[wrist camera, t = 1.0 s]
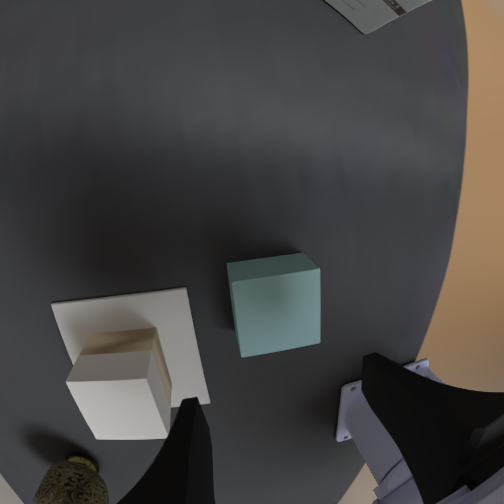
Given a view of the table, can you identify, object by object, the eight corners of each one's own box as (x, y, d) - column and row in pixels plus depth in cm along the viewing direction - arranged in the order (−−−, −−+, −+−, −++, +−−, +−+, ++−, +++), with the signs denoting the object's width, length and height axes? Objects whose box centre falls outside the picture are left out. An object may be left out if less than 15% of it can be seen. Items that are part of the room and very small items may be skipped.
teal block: (301, 251, 21) (320, 268, 18) (303, 318, 22) (320, 342, 19) (226, 262, 20) (231, 281, 17) (234, 329, 22) (241, 357, 18)
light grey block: (151, 349, 18) (146, 378, 15) (170, 408, 19) (169, 438, 16) (78, 355, 17) (65, 381, 14) (104, 411, 18) (96, 439, 16)
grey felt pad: (186, 287, 20) (186, 288, 20) (210, 400, 23) (210, 403, 23) (52, 302, 19) (50, 304, 18) (95, 408, 22) (94, 410, 21)
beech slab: (156, 327, 20) (151, 349, 18) (172, 383, 22) (170, 408, 19) (90, 333, 20) (78, 355, 17) (111, 387, 21) (104, 411, 18)
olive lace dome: (38, 440, 22) (17, 497, 14) (87, 433, 22) (69, 500, 15) (80, 480, 24) (70, 534, 17) (130, 475, 25) (125, 536, 17)
